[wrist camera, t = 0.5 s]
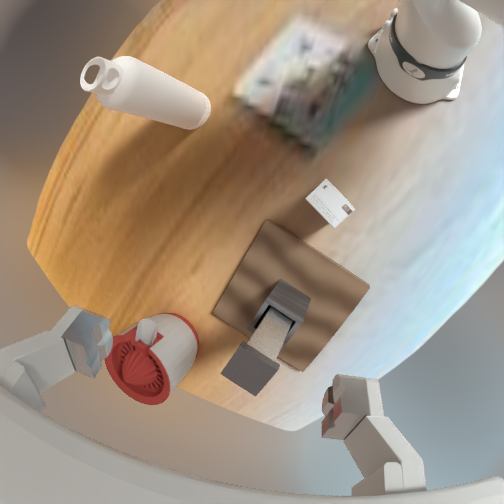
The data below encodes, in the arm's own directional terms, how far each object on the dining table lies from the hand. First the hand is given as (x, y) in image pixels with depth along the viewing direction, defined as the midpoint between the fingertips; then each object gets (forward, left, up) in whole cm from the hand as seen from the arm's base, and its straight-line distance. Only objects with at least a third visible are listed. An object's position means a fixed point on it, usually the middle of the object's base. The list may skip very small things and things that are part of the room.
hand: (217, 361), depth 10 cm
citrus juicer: (+38, -13, -47) cm, 62 cm away
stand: (+16, +3, -46) cm, 49 cm away
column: (+16, +3, -44) cm, 47 cm away
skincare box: (-4, 0, -47) cm, 47 cm away
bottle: (-6, -32, -47) cm, 57 cm away
